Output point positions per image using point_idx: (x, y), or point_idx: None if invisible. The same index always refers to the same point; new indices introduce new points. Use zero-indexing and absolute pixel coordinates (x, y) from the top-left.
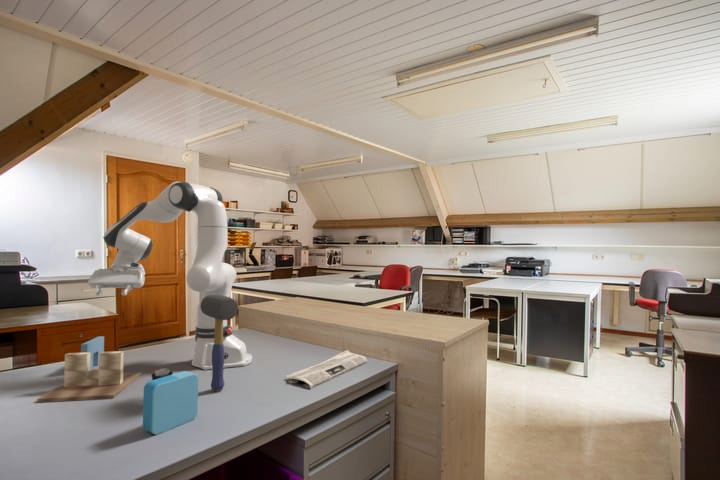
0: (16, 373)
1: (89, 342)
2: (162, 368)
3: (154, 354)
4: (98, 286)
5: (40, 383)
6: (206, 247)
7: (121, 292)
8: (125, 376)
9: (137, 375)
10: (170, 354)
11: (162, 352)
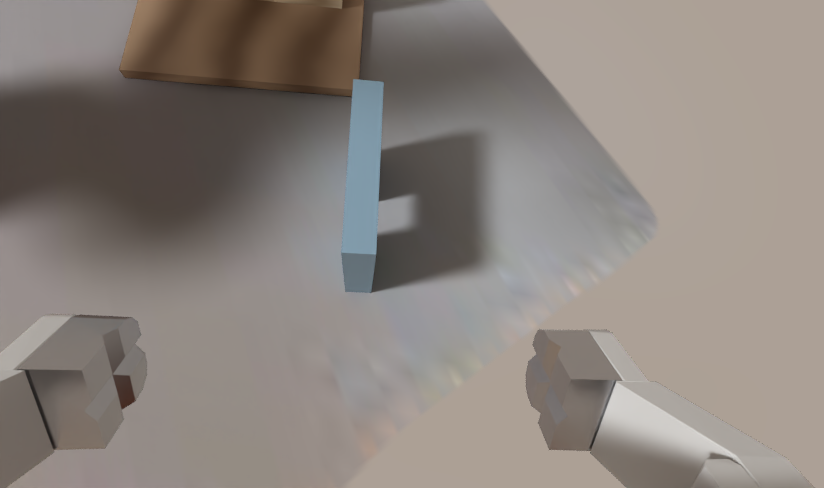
0: (613, 197)
1: (359, 112)
2: None
3: None
4: (715, 462)
5: (454, 74)
6: None
7: (123, 321)
8: (170, 39)
9: (126, 42)
10: None
11: None
